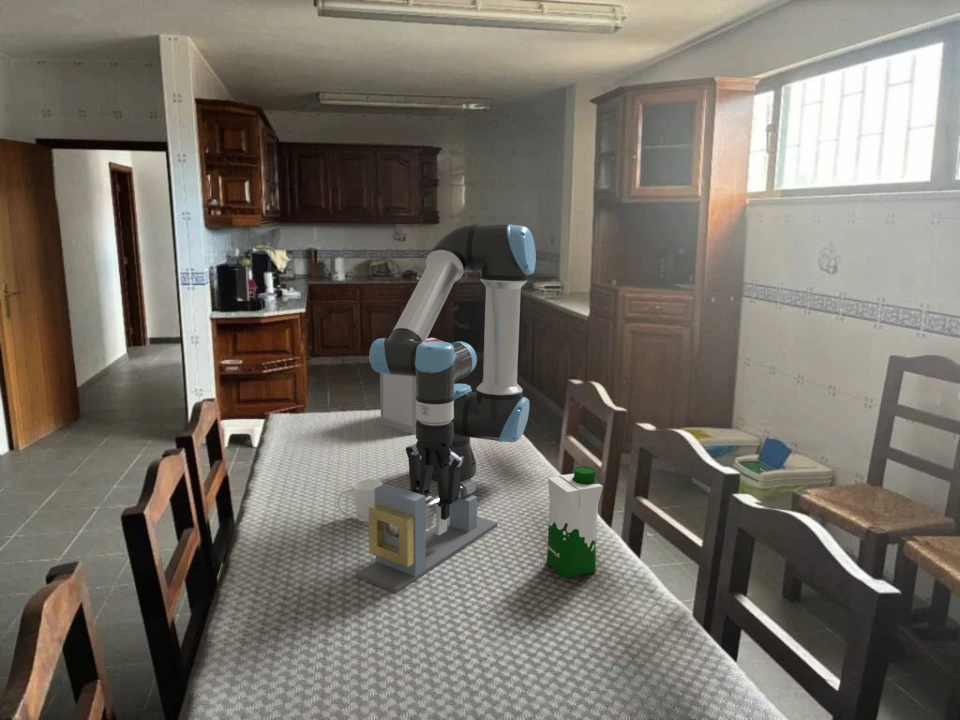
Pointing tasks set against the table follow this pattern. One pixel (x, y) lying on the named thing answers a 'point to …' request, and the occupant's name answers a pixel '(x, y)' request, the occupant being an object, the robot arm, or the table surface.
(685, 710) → the table surface
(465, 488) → the shaft
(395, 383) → the red grey striped box
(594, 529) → the milk carton
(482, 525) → the rig
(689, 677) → the table surface
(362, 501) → the cup
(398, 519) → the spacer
